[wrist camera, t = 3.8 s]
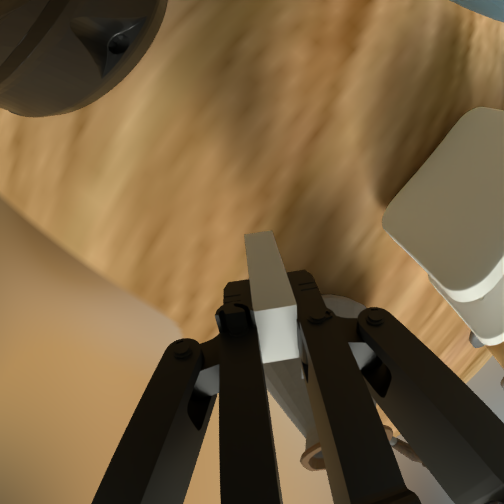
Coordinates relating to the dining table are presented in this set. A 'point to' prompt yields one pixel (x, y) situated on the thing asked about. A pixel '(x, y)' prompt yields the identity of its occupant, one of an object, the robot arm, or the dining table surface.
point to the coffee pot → (297, 400)
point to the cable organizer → (460, 221)
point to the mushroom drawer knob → (499, 351)
